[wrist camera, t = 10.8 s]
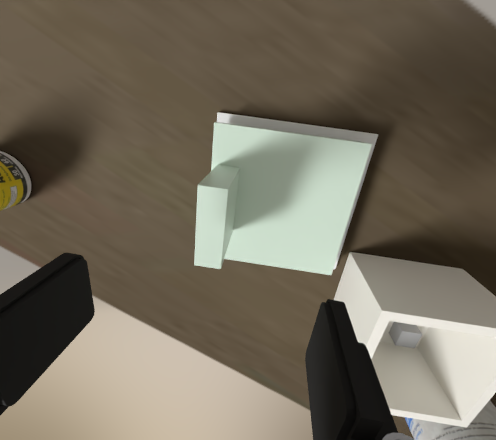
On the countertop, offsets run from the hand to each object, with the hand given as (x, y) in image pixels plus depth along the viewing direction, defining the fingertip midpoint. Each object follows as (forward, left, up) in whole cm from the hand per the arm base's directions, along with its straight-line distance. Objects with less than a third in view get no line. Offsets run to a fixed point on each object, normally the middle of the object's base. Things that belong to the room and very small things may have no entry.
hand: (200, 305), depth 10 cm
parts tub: (-17, +10, -15) cm, 25 cm away
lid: (-3, 0, -14) cm, 14 cm away
